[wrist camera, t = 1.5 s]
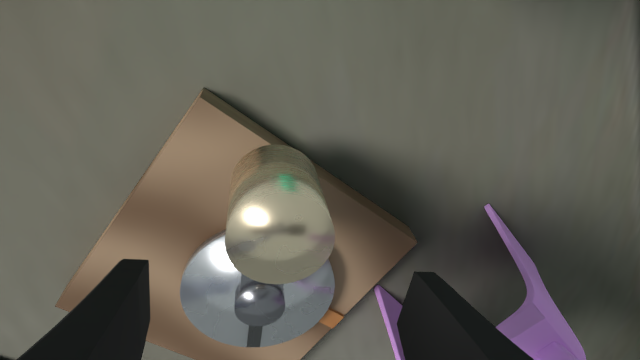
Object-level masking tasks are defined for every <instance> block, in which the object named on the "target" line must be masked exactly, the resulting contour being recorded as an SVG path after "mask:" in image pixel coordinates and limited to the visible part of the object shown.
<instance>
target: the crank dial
mask: <svg viewBox="0 0 640 360" xmlns="http://www.w3.org/2000/svg"><path fill="white" fill-rule="evenodd" d="M334 242H335V231H334V226H333V223H332V220H331V216H330V213H329V210H328V207H327V204H326V201H325V198H324V194H323V191H322V188H321V185H320V182H319V179H318V176H317V173H316V170H315V167H314V165H313V164H312V162H311V161H310V159H309V158H308V157H307V156H306V155H304V154H303V153H302V152H300V151H299V150H297V149H295V148H292V147H289V146H286V145H276V144H273V145H265V146H261V147H258V148H256V149H254V150H252V151H250V152H248V153H247V154H246V155H244V156H243V157H242V158H241V159H240V160H239V161H238V163H237V164H236V166H235V168H234V170H233V172H232V175H231V181H230V191H229V201H228V212H227V222H226V229H225V230H223V231H221V232H219V233H217V234H215V235H213V236H212V237H210V238H209V239H207V240H206V241H205V242H203V243H202V244H201V245H200V246H199V247H198V248H197V249H196V250H195V251H194V252H193V254H192V255H191V257H190V258H189V260H188V262H187V264H186V266H185V268H184V272H183V275H182V280H181V285H180V300H181V304H182V308H183V310H184V312H185V314H186V316H187V317H188V319H189V320H190V322H191V323H192V324H193V325H194V326H195V327H196V328H197V329H198V330H199V331H201V332H202V333H203V334H205V335H207V336H208V337H210V338H212V339H214V340H216V341H219V342H222V343H225V344H228V345H233V346H239V347H266V346H272V345H276V344H280V343H283V342H286V341H289V340H292V339H294V338H296V337H298V336H300V335H302V334H303V333H305V332H306V331H308V330H309V329H311V328H312V327H313V326H314V325H315V324H316V323H317V322H319V320H320V319H321V318H322V317H323V316H324V314H325V313H326V311H327V310H328V308H329V306H330V304H331V302H332V299H333V295H334V289H335V279H334V274H333V270H332V266H331V263H330V261H329V256H330V254H331V252H332V250H333V247H334Z"/></svg>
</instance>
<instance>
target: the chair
mask: <svg viewBox="0 0 640 360" xmlns="http://www.w3.org/2000/svg"><path fill="white" fill-rule="evenodd" d="M484 208H485V210H486V212H487V214H488V215H489V217H490V219H491V220H492V222H493V224H494V226H495V227H496V229H497V231H498V233H499V234H500V236H501V238H502V240H503V241H504V243H505V245H506V247H507V248H508V250H509V252H510V254H511V256H512V257H513V259H514V261H515V263H516V265H517V267H518V269H519V271H520V273H521V275H522V277H523V279H524V281H525V284H526V288H527V296H526V299H525V301H524V302H523V304H522V305H521V307H520V308H519V309H518V310H517V311H516V312H514V313H513V314H512V315H511V316H509V317H508V318H507V319H505V320H504V321H503V322H501V323H500V324H499V325H498V326H496V328H497V329H498V330H499V331H500V332H501V333H502V334H504V335H505V336H506V337H507V338H508V339H509V340H511V341H512V342H513V343H514V344H516V345H517V346H518V347H519V348H520V349H522V350H523V351H524V352H525V353H527V354H528V355H529V356H530V357H532V358H533V359H534V360H586V356H585V353H584V350H583V348H582V346H581V344H580V342H579V341H578V339H577V337H576V336H575V334H574V332H573V331H572V329H571V328H570V326H569V325H568V323H567V322H566V320H565V319H564V317H563V316H562V314H561V313H560V311H559V310H558V308H557V306H556V305H555V303H554V302H553V300H552V298H551V297H550V295H549V293H548V291H547V290H546V288H545V286H544V284H543V282H542V280H541V278H540V275H539V273H538V271H537V268H536V266H535V264H534V262H533V261H532V260H531V258H530V257H529V256H528V254H527V253H526V252H525V250H524V249H523V248H522V246H521V245H520V244H519V242H518V241H517V240H516V238H515V237H514V236H513V234H512V233H511V232H510V230H509V229H508V228H507V227H506V225H505V224H504V223H503V221H502V220H501V219H500V217H499V216H498V215H497V213H496V212H495V211H494V209H493V208H492V207H491V205H490V204H489V203H488V204H487V205H486V206H484ZM374 291H375V294H376V297H377V300H378V303H379V306H380V309H381V312H382V315H383V318H384V321H385V324H386V327H387V331H388V334H389V337H390V340H391V344H392V347H393V350H394V354H395V357H396V360H405V357H404V353H403V349H402V345H401V341H400V336H399V332H398V327H397V321H398V318H399V315H400V312H401V309H402V305H401V304H400V303H399V302H398V301H397V300H395V299H394V298H393V297H392V296H391V295H390V294H389V293H388V292H387V291H385V290H384V289H383V288H382V287H381V286H380V285H376V286H375V287H374Z"/></svg>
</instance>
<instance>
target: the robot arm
mask: <svg viewBox="0 0 640 360" xmlns="http://www.w3.org/2000/svg"><path fill="white" fill-rule="evenodd" d="M149 323H150V286H149V260H141V259H122V260H121V261H119V262H118V263H117V264H116V265H115V267H114V268H113V269H112V270H111V271H110V272H109V273H108V274H107V275H106V276H105V277H104V278H103V279H102V280H101V281H100V283H99V284H98V285H97V286H96V287H95V288H94V289H93V290H92V291H91V292H90V293H89V294H88V295H87V296H86V297H85V298H84V299H83V300H82V301H81V302H80V303H79V304H78V305H77V306H76V307H75V308H74V309H73V310H71V311H70V312H69V313H68V314H67V315H66V316H65V317H64V318H63V319H62V320H61V321H60V322H59V323H58V324H57V325H56V326H55V327H53V328H52V329H51V330H50V331H49V332H48V333H47V334H46V335H44V336H43V337H42V338H41V339H40V340H39V341H38V342H36V343H35V344H34V345H33V346H32V347H31V348H30V349H29V350H27V351H26V352H25V353H24V354H23V355H22V356H20V357H19V358H18V359H17V360H141V358H142V353H143V349H144V345H145V341H146V337H147V332H148V328H149ZM397 327H398V332H399V336H400V341H401V345H402V349H403V353H404V357H405V360H534V359H533V358H532V357H530V356H529V355H528V354H527V353H525V352H524V351H523V350H522V349H520V348H519V347H518V346H517V345H516V344H514V343H513V342H512V341H511V340H509V339H508V338H507V337H506V336H505V335H504V334H502V333H501V332H500V331H499V330H498V329H497V328H496V327H494V326H493V325H492V324H491V323H490V322H489V321H488V320H487V319H485V318H484V317H483V316H482V315H481V314H480V313H479V312H478V311H477V310H475V309H474V308H473V307H472V306H471V305H470V304H469V303H468V302H467V301H466V300H465V299H463V298H462V297H461V296H460V295H459V294H458V293H457V292H456V291H455V290H454V289H453V288H451V287H450V286H449V285H448V284H447V283H446V282H445V281H444V280H443V279H441V278H440V277H439V276H438V275H437V274H435V273H434V272H414V274H413V277H412V280H411V283H410V286H409V289H408V292H407V295H406V298H405V300H404V303H403V306H402V309H401V312H400V315H399V318H398V321H397Z"/></svg>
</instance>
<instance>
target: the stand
mask: <svg viewBox="0 0 640 360" xmlns="http://www.w3.org/2000/svg"><path fill="white" fill-rule="evenodd" d="M273 144H276V145H286V146H289V145H288V144H286V143H285V142H283V141H282V140H280V139H279V138H277V137H276V136H274V135H273V134H271V133H270V132H269V131H267V130H266V129H264V128H263V127H261V126H260V125H258V124H257V123H255V122H254V121H252V120H251V119H249V118H248V117H246V116H245V115H243V114H242V113H241V112H239V111H238V110H236V109H235V108H233V107H232V106H230V105H229V104H227V103H226V102H224V101H223V100H221V99H220V98H218V97H217V96H216V95H214V94H213V93H211V92H210V91H208V90H207V89H205V88H203V89H202V91H201V92H200V94H199V95H198V96H197V98H196V99H195V101H194V102H193V104H192V105H191V107H190V108H189V109H188V111H187V112H186V114H185V115H184V117H183V118H182V120H181V121H180V122H179V124H178V125H177V127H176V128H175V130H174V131H173V133H172V134H171V135H170V137H169V138H168V140H167V141H166V143H165V144H164V146H163V147H162V149H161V150H160V151H159V153H158V154H157V156H156V157H155V159H154V160H153V162H152V163H151V164H150V166H149V167H148V169H147V170H146V172H145V173H144V175H143V176H142V177H141V179H140V180H139V182H138V183H137V185H136V186H135V188H134V189H133V191H132V192H131V193H130V195H129V196H128V198H127V199H126V201H125V202H124V204H123V205H122V206H121V208H120V209H119V211H118V212H117V214H116V215H115V217H114V218H113V219H112V221H111V222H110V224H109V225H108V227H107V228H106V230H105V231H104V232H103V234H102V235H101V237H100V238H99V240H98V241H97V243H96V244H95V246H94V247H93V248H92V250H91V251H90V253H89V254H88V256H87V257H86V259H85V260H84V261H83V263H82V264H81V266H80V267H79V269H78V270H77V272H76V273H75V274H74V276H73V277H72V279H71V280H70V282H69V283H68V285H67V286H66V288H65V290H64V291H63V293H62V295H61V297H60V298H59V300H58V302H57V304H56V305H55V307H58V308H61V309H63V310H66V311H69V312H70V311H71V310H73V309H74V308H75V307H76V306H77V305H78V304H79V303H80V302H81V301H82V300H83V299H84V298H85V297H86V296H87V295H88V294H89V293H90V292H91V291H92V290H93V289H94V288H95V287H96V286H97V285H98V284H99V283H100V281H101V280H102V279H103V278H104V277H105V276H106V275H107V274H108V273H109V272H110V271H111V270H112V269H113V268H114V267H115V265H116V264H117V263H118V262H119V261H121V260H122V259H141V260H149V286H150V323H149V328H148V332H147V337H146V341H148V342H150V343H153V344H156V345H158V346H161V347H164V348H166V349H169V350H172V351H174V352H177V353H180V354H182V355H185V356H187V357H190V358H193V359H195V360H300V359H301V358H302V357H303V356H304V355H305V354H306V353H307V352H308V351H309V350H310V349H311V348H312V347H313V346H314V345H315V344H316V343H317V342H318V341H319V340H320V339H321V338H322V337H323V336H324V335H325V334H326V333H327V332H328V331H329V330H330V329H331V328H334V327H335V326H336V325H337V324H338V323H339V322H340V321H341V320H342V319H343V318H344V315H345V314H346V313H347V312H348V311H349V310H350V309H351V308H352V307H353V306H354V305H355V304H356V303H357V302H358V301H359V300H360V299H361V298H362V297H363V296H364V295H365V294H366V293H367V292H368V291H369V290H370V289H371V288H372V287H373V286H374V285H375V284H376V283H377V282H378V281H379V280H380V279H381V278H382V277H383V276H384V275H385V274H386V273H387V272H388V271H389V270H390V269H391V268H392V267H393V266H394V265H395V264H396V263H397V262H398V261H399V260H400V259H401V258H402V257H403V256H404V255H405V254H406V253H407V252H409V251H410V250H411V249H412V248H413V247H414V246H415V245H416V244H417V243H418V242H417V240H416V239H415V237H414V235H413V234H412V232H411V230H410V229H409V227H408V226H407V225H405V224H404V223H402V222H401V221H399V220H398V219H397V218H395V217H394V216H392V215H391V214H389V213H388V212H386V211H385V210H383V209H382V208H380V207H379V206H377V205H376V204H374V203H373V202H372V201H370V200H369V199H367V198H366V197H364V196H363V195H361V194H360V193H358V192H357V191H355V190H354V189H352V188H351V187H349V186H348V185H346V184H345V183H344V182H342V181H341V180H339V179H338V178H336V177H335V176H333V175H332V174H330V173H329V172H327V171H326V170H324V169H323V168H321V167H320V166H319V165H317V164H316V163H314V162H313V161H311V160H310V161H311V162H312V164H313V165H314V167H315V170H316V173H317V176H318V179H319V182H320V185H321V188H322V191H323V194H324V198H325V201H326V204H327V207H328V210H329V213H330V216H331V220H332V223H333V226H334V231H335V242H334V247H333V250H332V252H331V254H330V256H329V261H330V263H331V266H332V270H333V274H334V279H335V289H334V295H333V299H332V302H331V304H330V306H329V308H328V310H327V311H326V313H325V314H324V316H323V317H322V318H321V319H320V320H319V322H317V323H316V324H315V325H314V326H313V327H312V328H311V329H309V330H308V331H306V332H305V333H303V334H302V335H300V336H298V337H296V338H294V339H292V340H289V341H286V342H283V343H280V344H276V345H272V346H266V347H239V346H233V345H228V344H225V343H222V342H219V341H216V340H214V339H212V338H210V337H208V336H207V335H205V334H203V333H202V332H201V331H199V330H198V329H197V328H196V327H195V326H194V325H193V324H192V323H191V322H190V320H189V319H188V317H187V316H186V314H185V312H184V310H183V308H182V304H181V300H180V285H181V280H182V275H183V272H184V268H185V266H186V264H187V262H188V260H189V258H190V257H191V255H192V254H193V252H194V251H195V250H196V249H197V248H198V247H199V246H200V245H201V244H202V243H203V242H205V241H206V240H207V239H209V238H210V237H212V236H213V235H215V234H217V233H219V232H221V231H223V230H225V229H226V222H227V212H228V201H229V191H230V181H231V175H232V172H233V170H234V168H235V166H236V164H237V163H238V161H239V160H240V159H241V158H242V157H243V156H244V155H246V154H247V153H248V152H250V151H252V150H254V149H256V148H258V147H261V146H265V145H273ZM289 147H291V146H289Z"/></svg>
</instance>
